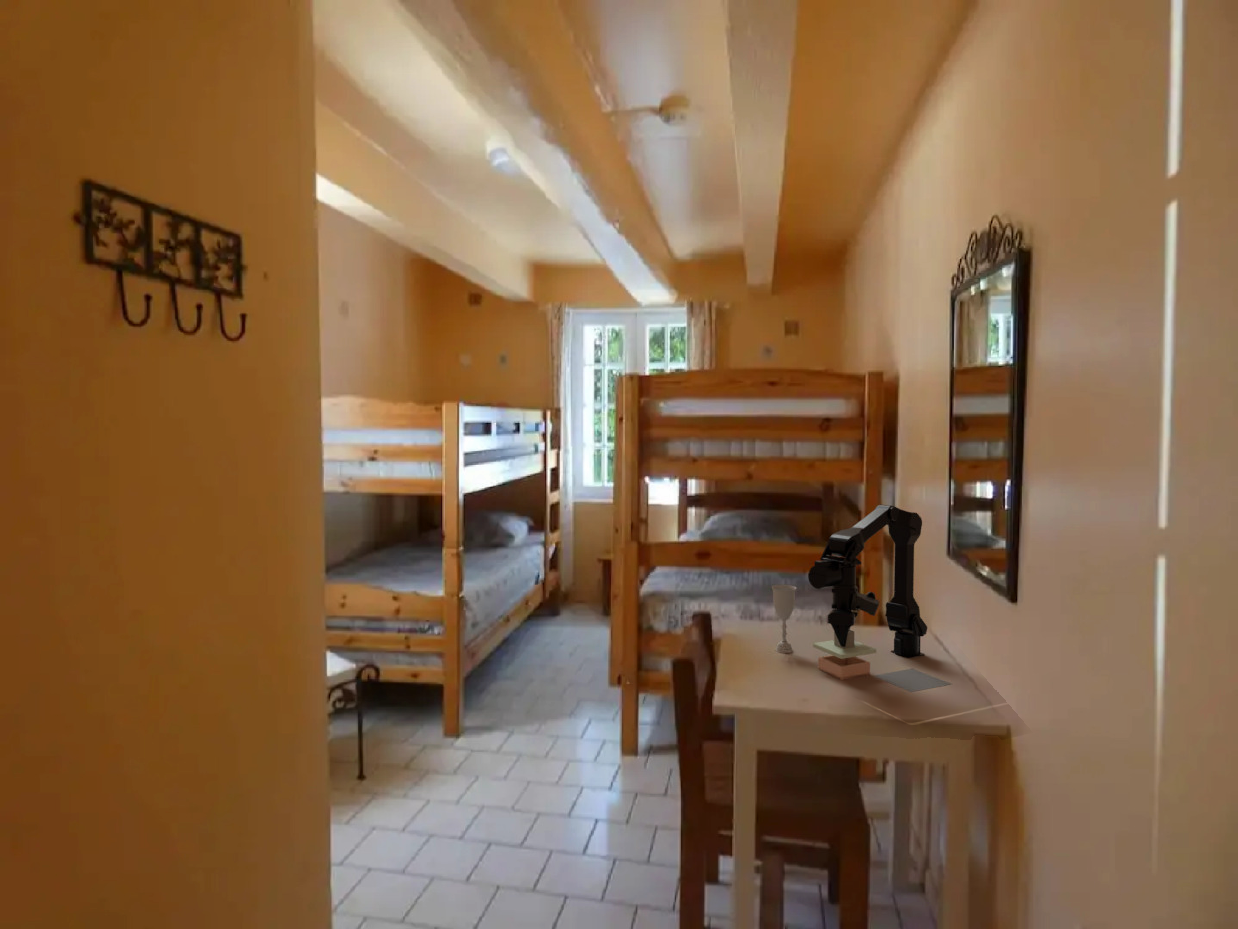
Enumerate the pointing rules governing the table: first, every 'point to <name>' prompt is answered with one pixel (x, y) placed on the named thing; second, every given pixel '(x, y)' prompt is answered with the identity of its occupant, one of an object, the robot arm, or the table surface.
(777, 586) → the chalice
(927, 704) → the table surface
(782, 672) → the table surface
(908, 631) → the robot arm
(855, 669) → the dish
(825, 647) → the lid
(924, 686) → the mat
